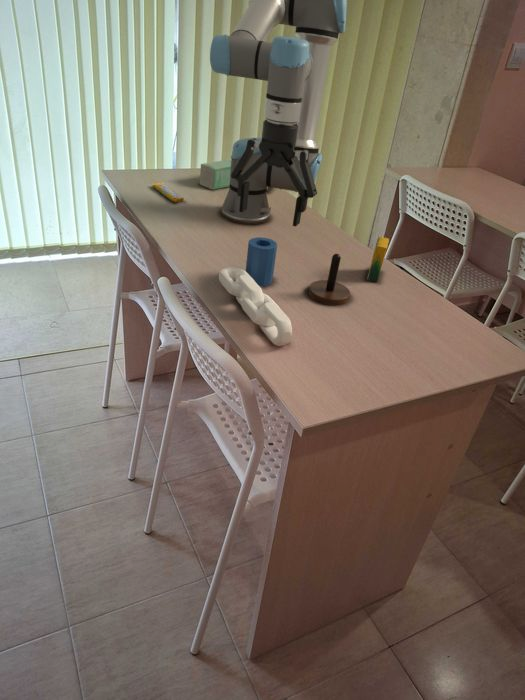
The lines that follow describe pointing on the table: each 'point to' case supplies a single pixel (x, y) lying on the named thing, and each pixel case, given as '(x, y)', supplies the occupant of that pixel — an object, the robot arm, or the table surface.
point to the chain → (257, 305)
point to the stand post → (333, 272)
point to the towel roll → (261, 260)
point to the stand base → (329, 293)
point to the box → (215, 174)
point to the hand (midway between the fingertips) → (269, 217)
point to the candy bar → (167, 192)
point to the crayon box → (378, 258)
